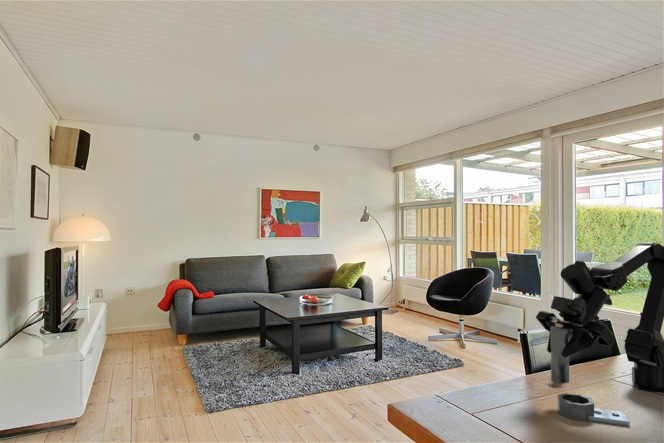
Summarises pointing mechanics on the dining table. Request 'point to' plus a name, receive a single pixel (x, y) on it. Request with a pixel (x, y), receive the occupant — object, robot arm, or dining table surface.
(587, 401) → the hinge leaf
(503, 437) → the dining table surface
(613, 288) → the robot arm
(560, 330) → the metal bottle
